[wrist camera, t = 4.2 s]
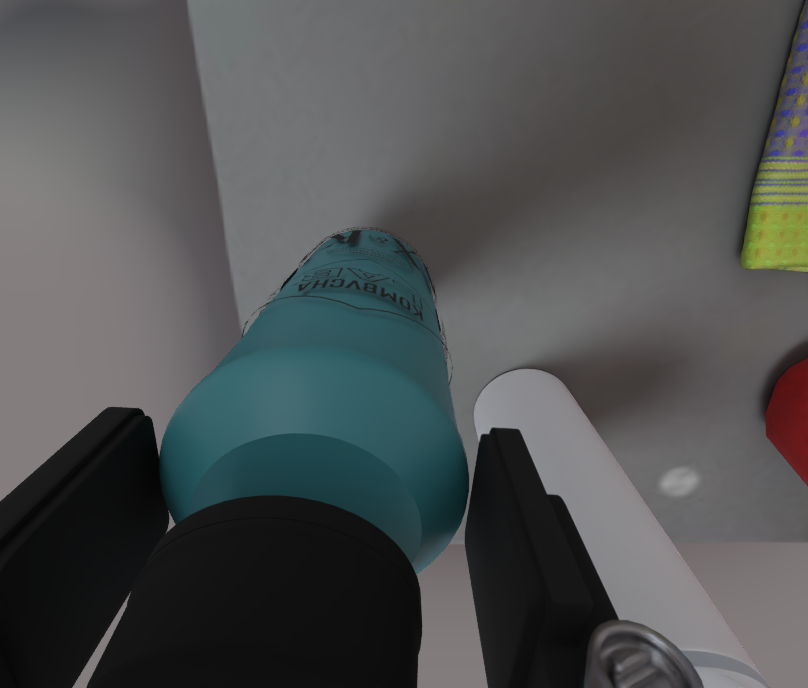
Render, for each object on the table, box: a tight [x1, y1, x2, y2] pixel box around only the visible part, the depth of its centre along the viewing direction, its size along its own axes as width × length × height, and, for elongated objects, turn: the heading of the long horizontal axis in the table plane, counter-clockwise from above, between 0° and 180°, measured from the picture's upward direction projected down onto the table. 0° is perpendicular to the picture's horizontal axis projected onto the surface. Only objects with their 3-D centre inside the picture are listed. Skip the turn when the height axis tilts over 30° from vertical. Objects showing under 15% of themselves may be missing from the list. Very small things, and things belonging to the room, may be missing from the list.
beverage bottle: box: [87, 227, 469, 688], centre depth 14 cm, size 6×7×20 cm
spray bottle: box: [474, 369, 770, 688], centre depth 19 cm, size 7×7×25 cm
